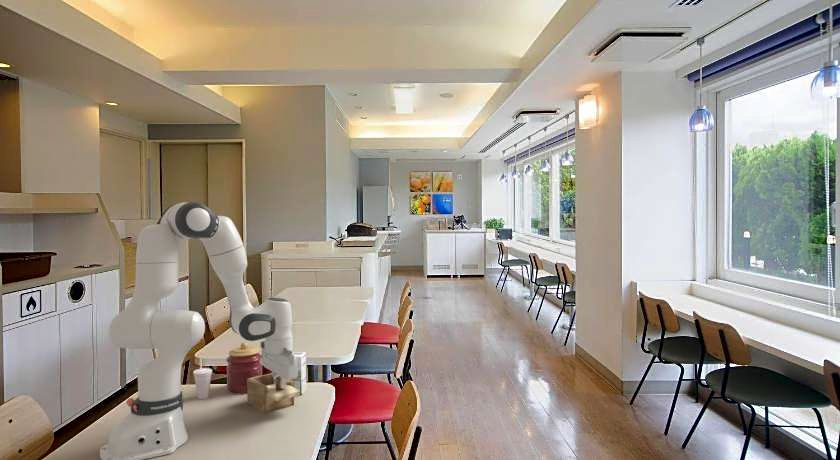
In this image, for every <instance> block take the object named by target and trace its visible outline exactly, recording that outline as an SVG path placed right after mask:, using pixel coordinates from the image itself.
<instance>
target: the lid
mask: <svg viewBox="0 0 840 460" xmlns="http://www.w3.org/2000/svg"><path fill="white" fill-rule="evenodd" d="M280 382H281V379H280V376H278V377H276V385H275V384H272V385H268V386H267V387H268V389H266V394H267V395H268V396H270V397H271V398H273V399H274V400H276V401H279V400H282V399H286V398H290V397H294V398H295V397H297V396H301V395H300V391H299V390H297V389H296V388H294V387H292V386H290V385H288V384H286V388H283V389H282V388H280V387H279V383H280Z"/></svg>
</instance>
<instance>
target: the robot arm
mask: <svg viewBox="0 0 840 460" xmlns="http://www.w3.org/2000/svg"><path fill="white" fill-rule="evenodd" d="M191 239H198V240H199V241H200V242H201V243H202V244H203V246H204V247H205V251H206V253H207V257H208V259H209V262H210V264H211V266H212V268H213V271H214V272H215V274H216V276H217V277H218V279H219V281H220V282H221V284H222V285H223V289H224V291H225V294H226V299H227V301H228V304H229V309H230V311H229V319H228V322H229V326H230V329H231V330H232V331H233V332H234V333H235V334H237V335H238V336H240V337H242V339H243V340H245V341H249V342H254V341H259V340H261V341H260V342H259V343H260V344H259V345H260V348H261V355H262V358H261V363H262V367H263V368H264V369H267V370H269V371H270V372H271V373H272V376H273V379H274V384H275V385H276V377H278V376H280V379H281V382H280V383H279V387H280V388H282V389H283V388H286V382H287V380H292V379H296V378H297V376H298V369H297V360H296V357H295V355H293V353H292V352H293V349H294V347H293V345H294V344H293V343H294V342H293V332H292V327H293V314H292V313H293V311H292V307H291V302H289V301H288V300H287V299H285V298H282V297H269V298H266V300H265V301H263V302H262V303H261V304H259V305H258V306H255V307H254V306H253V305H252V304H251V302H250V301H249V296H248V294H247V291H246V287H245V283H244V273H245V271H246V269H247V267H248V258H247V257H248V256H247V252H246V248H245V246H244V243H243V240H242V237H241V235H240V233H239V231H238V228H237V227H236V225H235V223H234V222H233V220H232V219H231V218H229V217H228V216H224V215H216V214H215V213H214V212H213V211H212V210H211V209H210V208H209V207H208V206H206V205H205V204H203V203H200V202H198V201H197V202H196V201H190V202H188V201H186V202H184V201H183V202H179V203H177V204H172V205H171V206H169V207H168V208H166V209H165V210H164V211H163V213H162V214H161V216H160V218H159V219H158V222H156V224H150V225H147V226H145V227H144V228H142V229H141V230H140V232H139V234H138V239H137V246H136V253H135V282H134V290H133V294H132V296H131V299H130V301H129V302H128V304H127V305H126V307H124V309H122V310H121V311H120V312H119V313H117V315H115V316H114V317H113V318H112V320H111V322H110V323H109V325H108V332H107V333H108V339H109V340H110V342H111V344H112V345H113V346H115V347H117V348H121V349H126V350H127V349H128V350H149V349H150V350H151V349H156V350H157V357H156V358H153V359H152V360H150V361H148V362H147V363H145V364H143V365H142V366H141V367H140V369H139V370H138V373H137V390H138V391H137V393H138V396H137V398H136V399H134V398H133V397H130V398H129V397H128V399H127V400H126V405H127V406H128V407H130V412H129V414H127V415H126V416H125V417H124V418H123V419H122V420H121V421H119V422H118V423H117V424H116V425H114V427H113V428H112V429H111V431H110V434H109V439H108V443H107V444H104V445H102V446H101V448H100V450H99V459H100V460H147V459H151V458H155V457H160V456H165V455H170V454H172V453H174V452H175V451H176V449H178V448H179V447H181V446H182V445H184V444H185V443H186V442H187V441H188V439H189V434H188V432H187V429H186V425H185V421H184V415H183V408H184V396H183V391H182V390H181V389H182V387H181V386H182V385H181V382H182V381H181V380H182V378H181V375H182V365H183V362H184V359H185V357H186V355H187V354H188V353H189V351H191V349H192V348H193V347H195V346H197V344H198V343H200V341H201V340H202V338H203V336H204V334H205V331H206V324H205V323H206V322H205V320H204V318H203V316H202V315H201V314H200V313H199V312H198V311H194V310H189V309H188V310H187V309H165V310H164V309H162V310H161V309H159V304H160V302H161V300H163V299H165V298H168V297H169V296H171V295H172V294H173V293H175V292H176V291H177V289H178V287H179V248H180V245H181V243H182V242H183V240H191ZM262 339H265V340H262Z"/></svg>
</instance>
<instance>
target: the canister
mask: <svg viewBox="0 0 840 460" xmlns="http://www.w3.org/2000/svg"><path fill="white" fill-rule="evenodd" d="M260 352H261V350H260V348H258V347H256V346H255V345H254V346H253V345H248V343H247V342H246V341H245V342H241V343H240V346H235V347H234V348H232V349H231V350H230V351H229V352H228V356H227V358H226V360H225V361H226V362H227V367H226V378H227V379H226V381H227V382H226V388H227V391H228V392H229V393H232V394H238V395H239V394H241V395H242V394H247V379H248V378H252V377H257V376H261V375H263V363H262V353H260Z"/></svg>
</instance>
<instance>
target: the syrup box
mask: <svg viewBox="0 0 840 460" xmlns="http://www.w3.org/2000/svg"><path fill="white" fill-rule="evenodd" d="M292 353H293V355H295V357H296V360H297V369H298V376H297V378H296V379H292V380H291V381H293V382H294V388H296V389H297V390H299V391H300V395H299V396H301V395H303V394H304V393H305V392H306V391H307V354H306V352H305V351H303V352H302V351H301V352H299V351H292Z"/></svg>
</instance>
